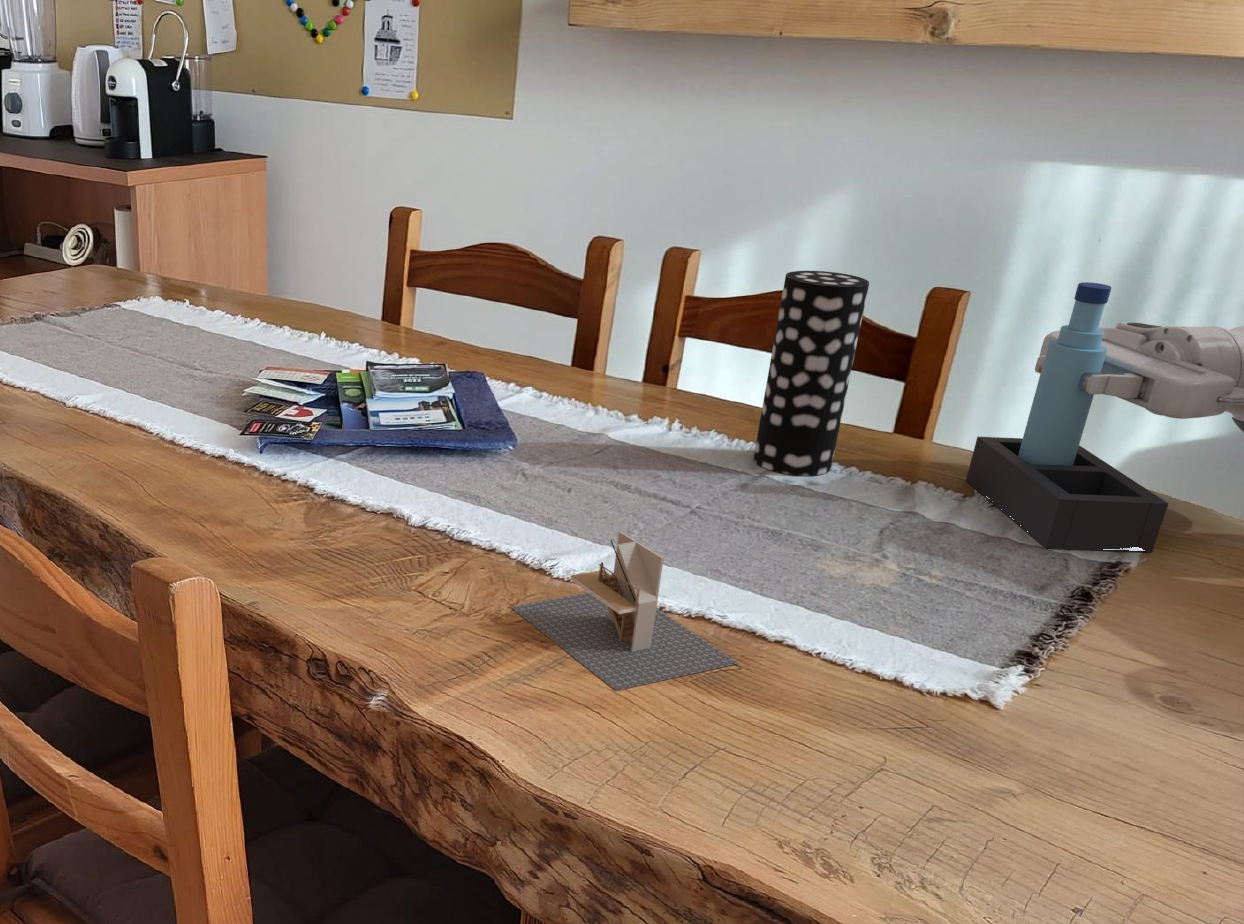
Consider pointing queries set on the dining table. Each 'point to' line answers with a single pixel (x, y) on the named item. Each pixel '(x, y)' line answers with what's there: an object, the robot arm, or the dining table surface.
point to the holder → (1067, 499)
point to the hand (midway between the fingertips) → (1061, 374)
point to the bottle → (1066, 382)
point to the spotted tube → (809, 371)
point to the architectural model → (623, 623)
